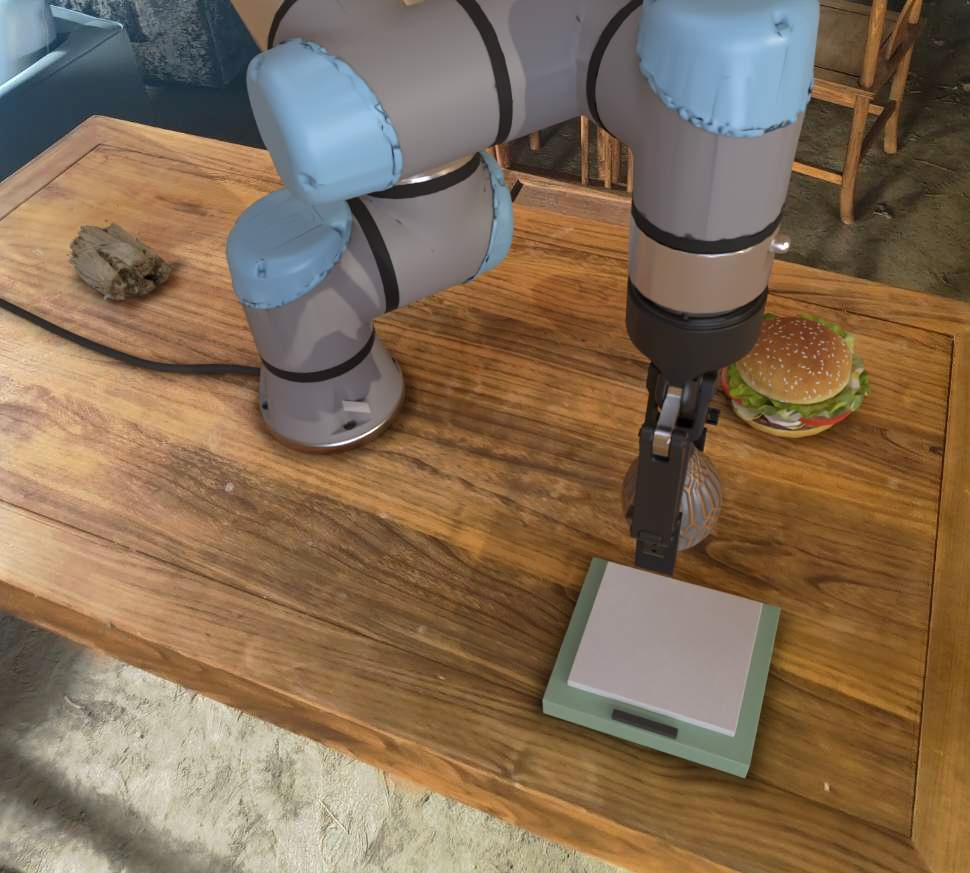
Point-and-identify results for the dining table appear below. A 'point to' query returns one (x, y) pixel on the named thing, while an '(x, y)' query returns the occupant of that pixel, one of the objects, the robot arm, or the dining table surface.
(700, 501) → the vase
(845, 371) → the food
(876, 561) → the dining table surface
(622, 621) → the scale
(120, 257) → the grey-brown fibrous clump
